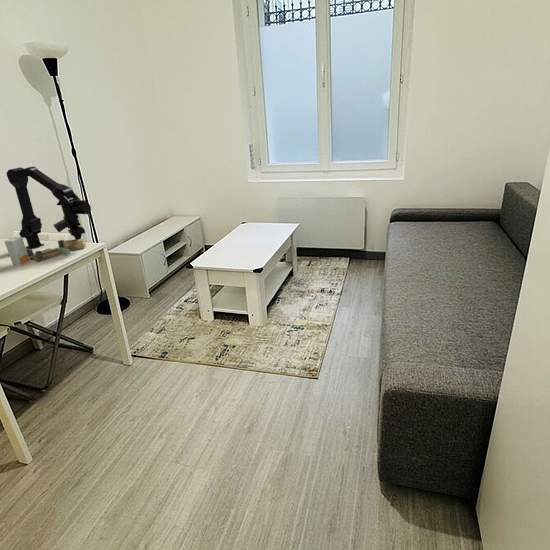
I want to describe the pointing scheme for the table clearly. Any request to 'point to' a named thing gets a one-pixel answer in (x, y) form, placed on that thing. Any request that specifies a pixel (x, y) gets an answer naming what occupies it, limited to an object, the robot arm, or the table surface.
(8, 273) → the table surface
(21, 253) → the skincare box
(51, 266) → the table surface
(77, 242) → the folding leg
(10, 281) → the table surface
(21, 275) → the table surface
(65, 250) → the socket cleat
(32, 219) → the robot arm
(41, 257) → the stool seat
